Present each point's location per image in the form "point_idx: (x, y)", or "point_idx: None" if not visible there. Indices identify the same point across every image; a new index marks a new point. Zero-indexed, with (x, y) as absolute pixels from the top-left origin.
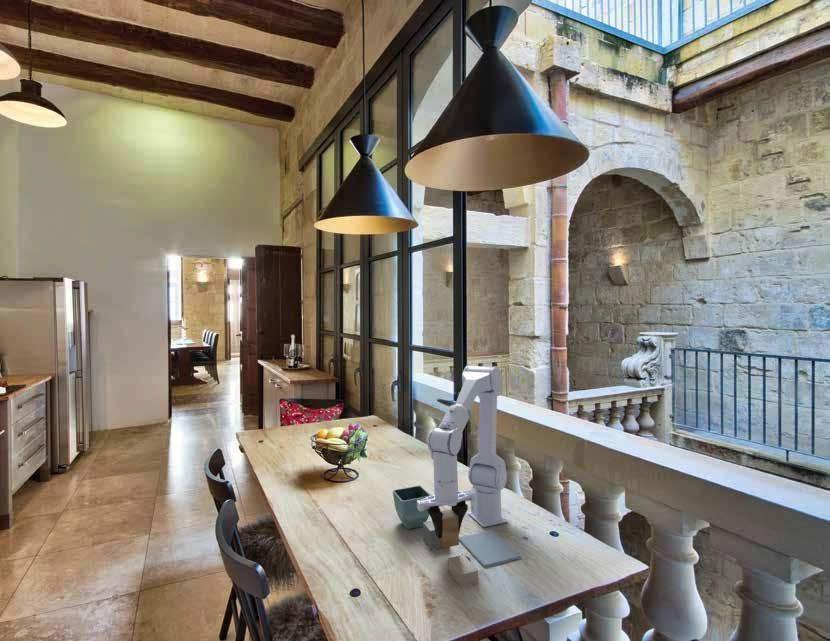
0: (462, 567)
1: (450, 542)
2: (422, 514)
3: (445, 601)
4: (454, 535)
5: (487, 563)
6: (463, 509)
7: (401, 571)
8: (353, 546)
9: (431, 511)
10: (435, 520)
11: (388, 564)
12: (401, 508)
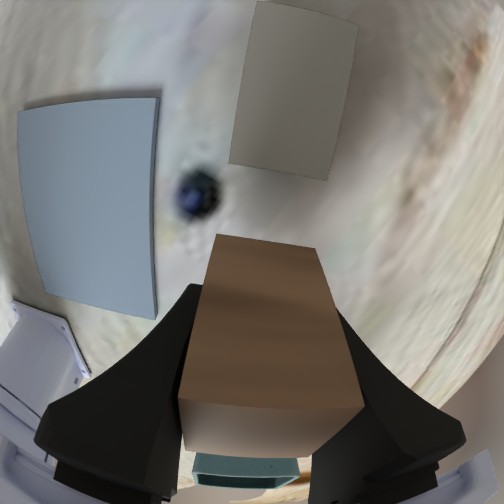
0: (316, 63)
1: (274, 254)
2: None
3: (431, 32)
4: (241, 274)
5: (135, 103)
6: (92, 441)
7: (434, 257)
8: (410, 381)
9: (432, 463)
10: (419, 397)
11: (428, 302)
12: None
